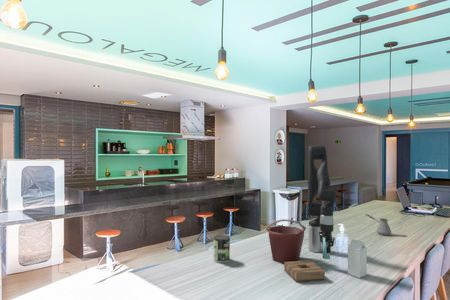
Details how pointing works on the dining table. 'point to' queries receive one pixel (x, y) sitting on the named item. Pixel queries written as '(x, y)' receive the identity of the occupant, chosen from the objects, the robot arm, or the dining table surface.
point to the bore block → (304, 271)
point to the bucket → (285, 241)
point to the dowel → (325, 250)
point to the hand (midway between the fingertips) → (326, 251)
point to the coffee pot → (382, 227)
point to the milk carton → (357, 258)
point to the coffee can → (221, 248)
